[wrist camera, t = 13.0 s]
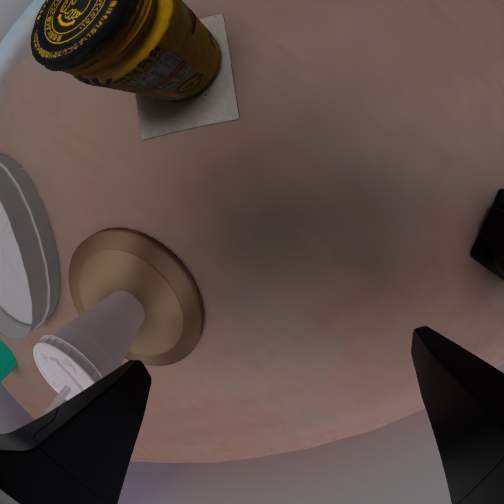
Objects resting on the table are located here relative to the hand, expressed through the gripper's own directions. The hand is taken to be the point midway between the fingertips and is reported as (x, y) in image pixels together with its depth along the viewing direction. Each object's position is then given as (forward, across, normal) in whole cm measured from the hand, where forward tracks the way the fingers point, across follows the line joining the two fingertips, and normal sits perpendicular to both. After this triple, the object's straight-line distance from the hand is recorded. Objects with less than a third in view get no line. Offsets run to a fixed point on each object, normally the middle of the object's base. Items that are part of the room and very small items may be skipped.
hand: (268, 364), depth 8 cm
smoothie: (+12, +15, +4) cm, 19 cm away
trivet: (+13, +15, +4) cm, 20 cm away
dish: (+14, +33, -6) cm, 36 cm away
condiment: (+13, +4, -13) cm, 19 cm away
